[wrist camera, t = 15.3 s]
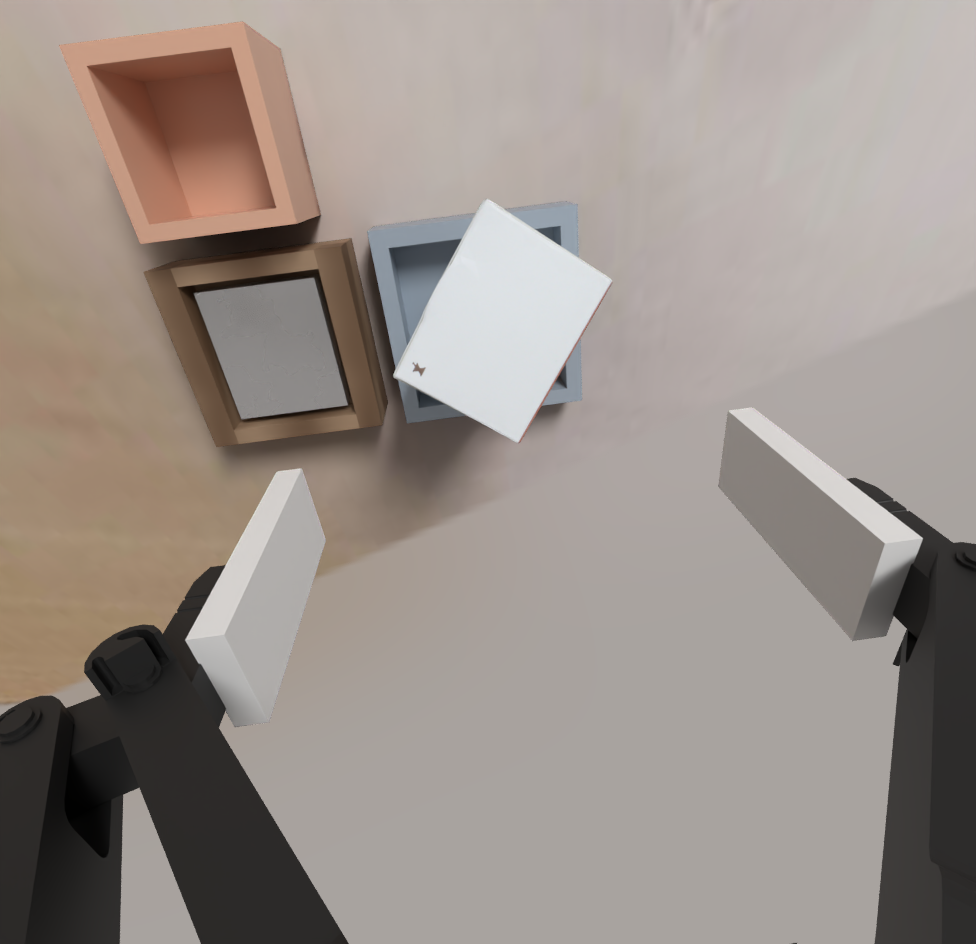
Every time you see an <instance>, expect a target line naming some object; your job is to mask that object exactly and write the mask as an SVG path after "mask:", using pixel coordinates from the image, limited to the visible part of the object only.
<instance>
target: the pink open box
mask: <svg viewBox="0 0 976 944" xmlns="http://www.w3.org/2000/svg"><path fill="white" fill-rule="evenodd" d="M59 46H60V49H61V51H62V54H63V56H64V59H65V61H66V63H67V66H68V68H69V71H70V73H71V76H72V78H73V81H74V83H75V85H76V88H77V90H78V93H79V95H80V98H81V100H82V103H83V105H84V107H85V110H86V112H87V115H88V117H89V120H90V122H91V124H92V127H93V129H94V132H95V134H96V137H97V139H98V142H99V144H100V146H101V149H102V151H103V154H104V156H105V159H106V161H107V164H108V166H109V168H110V171H111V173H112V176H113V178H114V181H115V183H116V186H117V188H118V190H119V193H120V195H121V198H122V200H123V203H124V205H125V207H126V210H127V212H128V215H129V217H130V220H131V222H132V225H133V227H134V229H135V232H136V234H137V237H138V239H139V242H140V244H144V243H152V242H160V241H168V240H175V239H183V238H191V237H198V236H206V235H214V234H221V233H229V232H237V231H244V230H252V229H260V228H268V227H275V226H283V225H291V224H297V223H300V222H303V221H306V220H308V219H311V218H314V217H316V216H319V215H321V213H320V209H319V205H318V201H317V197H316V193H315V189H314V184H313V180H312V176H311V172H310V168H309V164H308V160H307V156H306V152H305V148H304V144H303V139H302V135H301V131H300V127H299V123H298V119H297V115H296V111H295V107H294V103H293V99H292V94H291V90H290V86H289V82H288V78H287V74H286V70H285V66H284V62H283V58H282V54H281V49H280V48H279V47H277V46H276V45H274V44H273V43H272V42H270V41H269V40H268V39H266V38H265V37H263V36H262V35H261V34H259V33H258V32H257V31H255V30H254V29H252V28H251V27H250V26H248V25H247V24H246V23H244V22H236V23H228V24H220V25H212V26H204V27H197V28H189V29H181V30H173V31H165V32H158V33H150V34H142V35H134V36H126V37H119V38H111V39H103V40H95V41H87V42H80V43H72V44H64V45H59Z"/></svg>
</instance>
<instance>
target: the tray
mask: <svg viewBox="0 0 976 944" xmlns="http://www.w3.org/2000/svg"><path fill="white" fill-rule="evenodd" d="M505 210H506V211H508V212H509V213H511V214H512V215H514V216H515V217H517V218H518V219H520V220H521V221H523V222H524V223H526V224H527V225H529V226H531V227H532V228H534V229H535V230H537V231H538V232H540V233H541V234H543V235H544V236H546V237H548V238H549V239H551V240H552V241H554V242H555V243H557V244H558V245H560V246H561V247H563V248H564V249H566V250H568V251H569V252H571V253H572V254H574V255H575V256H577V257H578V258H579V252H578V211H577V204H575V203H571V202H567V201H565V202H557V203H550V204H542V205H534V206H527V207H519V208H511V209H505ZM475 214H476V213H473V214H465V215H457V216H450V217H442V218H434V219H427V220H419V221H411V222H404V223H396V224H388V225H381V226H374V227H372V228H371V229H370V230H369V231H367V233H368V238H369V243H370V247H371V252H372V257H373V262H374V267H375V271H376V276H377V281H378V286H379V291H380V296H381V300H382V305H383V310H384V315H385V320H386V324H387V329H388V334H389V339H390V344H391V349H392V353H393V358H394V363H395V368H396V367H397V365H398V363H399V361H400V359H401V357H402V355H403V353H404V351H405V349H406V347H407V345H408V343H409V341H410V339H411V337H412V335H413V333H414V331H415V329H416V327H417V325H418V323H419V321H420V319H421V316H422V314H423V311H424V309H425V307H426V305H427V303H428V301H429V299H430V297H431V295H432V293H433V291H434V290H435V288H436V286H437V284H438V282H439V281H440V279H441V277H442V275H443V273H444V271H445V270H446V268H447V266H448V264H449V262H450V260H451V258H452V257H453V255H454V253H455V251H456V249H457V247H458V245H459V244H460V242H461V240H462V238H463V236H464V234H465V232H466V230H467V229H468V227H469V225H470V223H471V221H472V219H473V217H474V215H475ZM398 382H399V387H400V392H401V397H402V401H403V406H404V411H405V416H406V421H407V423H414V422H422V421H429V420H437V419H444V418H452V417H460V416H466V415H464V414H462V413H460V412H459V411H457V410H455V409H453V408H451V407H449V406H447V405H445V404H443V403H442V402H440V401H438V400H436V399H434V398H432V397H430V396H428V395H426V394H424V393H422V392H421V391H419V390H417V389H415V388H413V387H411V386H409V385H407V384H405V383H403V382H401V381H399V380H398ZM581 400H582V376H581V338H580V340H579V342H578V344H577V345H576V347H575V349H574V350H573V352H572V354H571V356H570V357H569V359H568V361H567V363H566V364H565V366H564V368H563V369H562V371H561V373H560V375H559V376H558V378H557V380H556V382H555V383H554V385H553V387H552V389H551V390H550V392H549V394H548V396H547V397H546V399H545V401H544V403H543V404H542V406H543V405H551V404H558V403H566V402H573V401H581Z"/></svg>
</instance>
